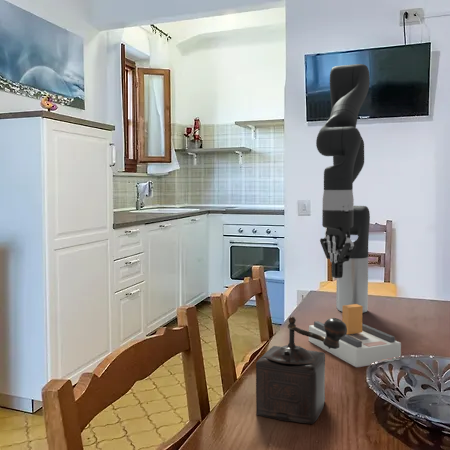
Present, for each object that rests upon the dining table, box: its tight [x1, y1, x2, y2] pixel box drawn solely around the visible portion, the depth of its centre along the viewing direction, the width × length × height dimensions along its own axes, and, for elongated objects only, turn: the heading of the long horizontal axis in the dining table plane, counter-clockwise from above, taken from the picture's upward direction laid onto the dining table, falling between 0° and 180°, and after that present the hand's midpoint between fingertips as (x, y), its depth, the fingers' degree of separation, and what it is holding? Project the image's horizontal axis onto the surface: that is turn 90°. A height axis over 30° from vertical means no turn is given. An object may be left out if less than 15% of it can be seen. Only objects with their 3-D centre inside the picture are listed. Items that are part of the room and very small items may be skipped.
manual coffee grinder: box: [255, 315, 347, 425], centre depth 86 cm, size 16×11×18 cm
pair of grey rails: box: [313, 320, 396, 348], centre depth 118 cm, size 18×10×1 cm, turn 21°
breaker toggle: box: [341, 304, 363, 334], centre depth 118 cm, size 2×4×6 cm, turn 111°
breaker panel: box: [308, 324, 402, 368], centre depth 119 cm, size 20×12×4 cm, turn 21°
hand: (337, 277), depth 123 cm, fingers closed
